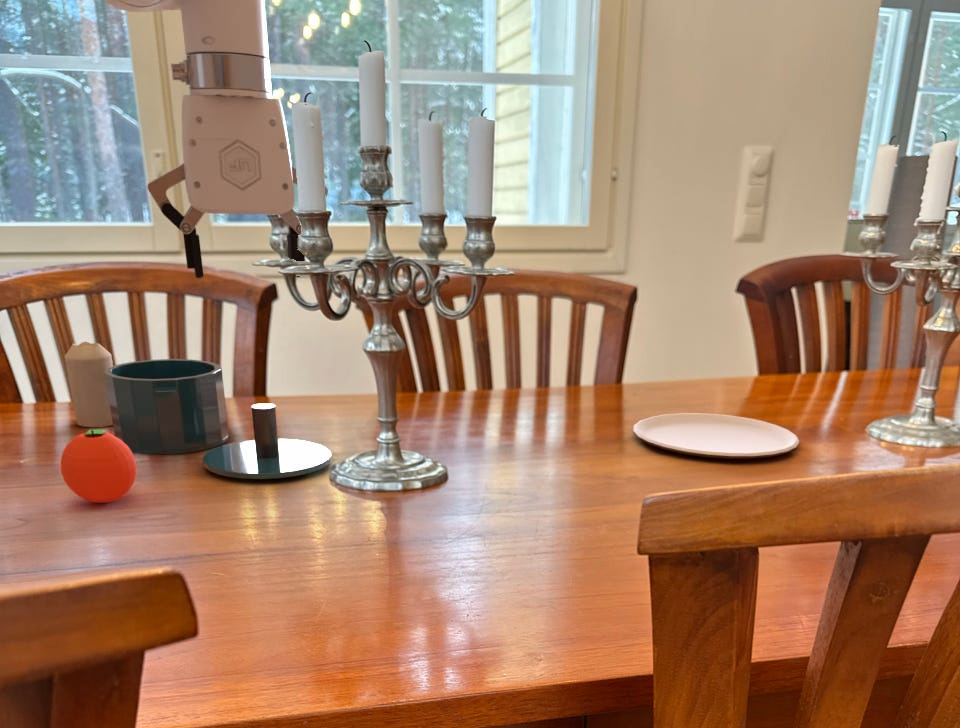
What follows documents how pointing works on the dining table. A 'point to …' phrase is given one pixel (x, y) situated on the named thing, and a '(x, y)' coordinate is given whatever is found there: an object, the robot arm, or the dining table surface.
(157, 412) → the pot
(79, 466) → the clementine
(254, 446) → the lid
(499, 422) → the dining table surface
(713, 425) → the plate
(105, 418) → the candle
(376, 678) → the dining table surface
